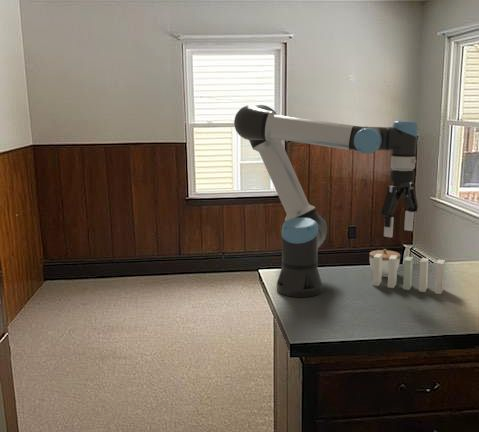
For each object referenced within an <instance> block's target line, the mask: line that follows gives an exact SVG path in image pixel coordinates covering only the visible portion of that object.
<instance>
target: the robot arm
mask: <svg viewBox="0 0 479 432" xmlns="http://www.w3.org/2000/svg"><path fill="white" fill-rule="evenodd" d="M233 125H234V129H235V131H236V133H237V135H239V136H240V137H241V138H242V139H244V140H248V141H249V143H250V145H251V148H252V150H253V151H256V152H258V153H259V155H260V158H261V159H262V162H263V165H264V166H265V169H266V170H267V172H268V175H269V177H270V180H271V182H272V185H273V187H274V189H275V191H276V193H277V196H278V198H279V200H280V203H281V205H282V207H283V209H284V212H285V213H286V216H285V218H284V222H283V223H282V226H281V230H280V231H281V269H280V272H279V275H278V278H277V281H276V291H277V292H278V293H279V294H281V295H283V296H287V297H294V298H309V297H314V296H317V295H320V294H322V292H323V282H322V281H323V280H322V277H321V275H320V272H319V269H318V255H319V254H318V249H319V248H320V247H321V245H323V244H324V242H325V240H326V239H327V236H328V235H327V234H328V226H327V223H326V221H325V220H324V218H322V216H321V215H319V213H318V211H317V209H316V206H314V205H311V204H310V203H309V201H308V199H307V197H306V194H305V192H304V190H303V188H302V187H303V186H302V185H301V183H300V181H299V178H298V176H297V173H296V171H295V169H294V167H293V165H292V163H291V161H290V158H289V156H288V154H287V151H286V149H285V147H284V145H283V142H282V141H289V142H294V143H301V144H309V145H315V146H322V147H327V148H328V147H329V148H335V149H340V150H348V151H349V150H350V151H354V152H360V153H361V154H368V155H369V154H373V153H375V152H376V151H391V154H390V155H391V158H390V169H391V170H390V172H389V173H390V174H389V180H390V182H392V183H393V185H388V186H387V191H386V196H385V199H384V202H383V205H382V208H381V212H380V215H381V217H384V225H383V226H384V227H383V237H385V238H386V237H387V238H391V239H392V238H393V236H394V235H393V233H394V220H395V219H394V217H393V215H394V213H395V211H396V209H397V206H398V205H399V202H400V201H401V200H402V201H403V203H404V206H405V208H406V211H404V212H405V214H404V229H403V230H404V231H410V232H413V229H414V217H415V213H417V212H418V208H419V205H418V200H417V194H416V184H415V182H414V181H415V175H416V174H415V170H414V169H416V163H417V160H416V157H417V145H418V144H417V143H418V123H417V122H416V121H413V120H394V122H393V124H392V126H386V127H384V126H359V125H351V124H347V123H345V124H344V123H337V122H331V121H323V120H316V119H310V118H309V119H308V118H303V117H302V118H301V117H293V116H288V115H287V116H286V115H279V114H277V112H276V111H275V110H274V109H273V108H271V107H269V106H267V105H265V104H258V105H256V104H249V105H245V106H243V107H241V108H240V109H239V110H238V111H237V112H236V113H235V117H234V120H233Z"/></svg>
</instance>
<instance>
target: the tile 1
mask: <svg viewBox="0 0 479 432" xmlns="http://www.w3.org/2000/svg"><path fill="white" fill-rule="evenodd" d="M382 255H383V254H376V255H375V256H374V257H373V270H372V286H373V287H380V285H381V284H382V281H383V280H382V279H383V277H382Z"/></svg>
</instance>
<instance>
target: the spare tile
mask: <svg viewBox="0 0 479 432" xmlns="http://www.w3.org/2000/svg"><path fill="white" fill-rule="evenodd" d="M413 259H414V256H406V257H405V258H404V262H403V278H402V279H403V281H402V282H403V284H402V286H403V287H402V290H406V291H410V290H411V288H412V287H413V286H412V284H413V283H412V282H413V264H414V260H413Z"/></svg>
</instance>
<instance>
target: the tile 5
mask: <svg viewBox="0 0 479 432" xmlns="http://www.w3.org/2000/svg"><path fill="white" fill-rule="evenodd" d="M445 262H446V260H445V259H438V260H437V261H436V264H435V265H436V271H435V286H434V289H435V290H434V293H435V294H438V295H442V294H443V291H444V280H445V279H444V278H445Z"/></svg>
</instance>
